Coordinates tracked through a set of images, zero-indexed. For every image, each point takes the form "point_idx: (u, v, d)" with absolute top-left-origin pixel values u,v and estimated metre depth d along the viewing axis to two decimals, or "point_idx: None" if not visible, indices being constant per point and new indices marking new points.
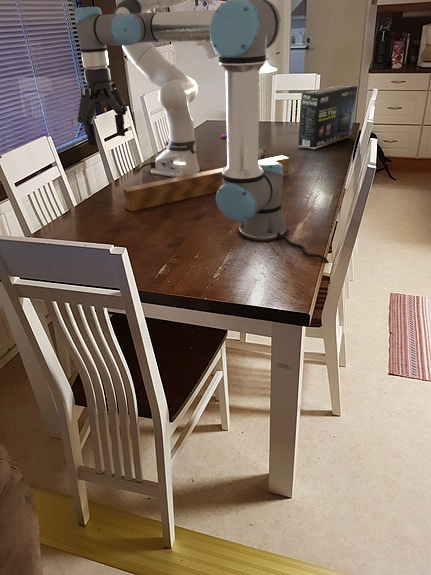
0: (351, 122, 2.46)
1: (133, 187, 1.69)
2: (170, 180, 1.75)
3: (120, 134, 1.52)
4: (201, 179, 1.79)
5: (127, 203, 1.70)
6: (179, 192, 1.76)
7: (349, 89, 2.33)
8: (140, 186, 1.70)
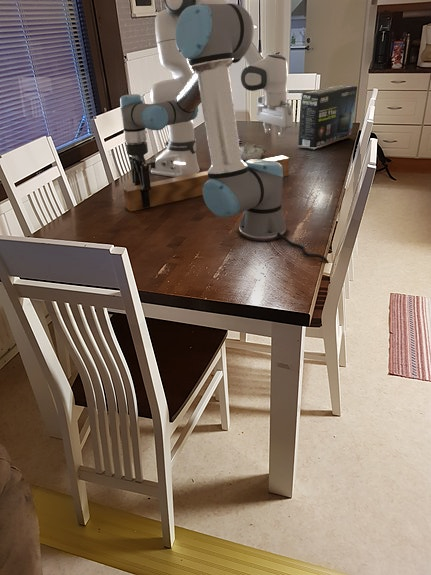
0: (351, 122, 2.46)
1: (133, 187, 1.69)
2: (170, 180, 1.75)
3: None
4: (201, 179, 1.79)
5: (127, 203, 1.70)
6: (179, 192, 1.76)
7: (349, 89, 2.33)
8: (140, 186, 1.70)
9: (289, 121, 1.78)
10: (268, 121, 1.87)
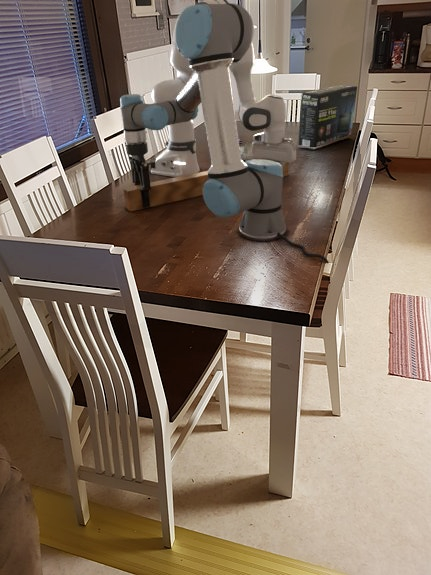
0: (351, 122, 2.46)
1: (133, 187, 1.69)
2: (170, 180, 1.75)
3: None
4: (201, 179, 1.79)
5: (127, 203, 1.70)
6: (179, 192, 1.76)
7: (349, 89, 2.33)
8: (140, 186, 1.70)
9: (294, 156, 1.88)
10: (267, 157, 1.94)
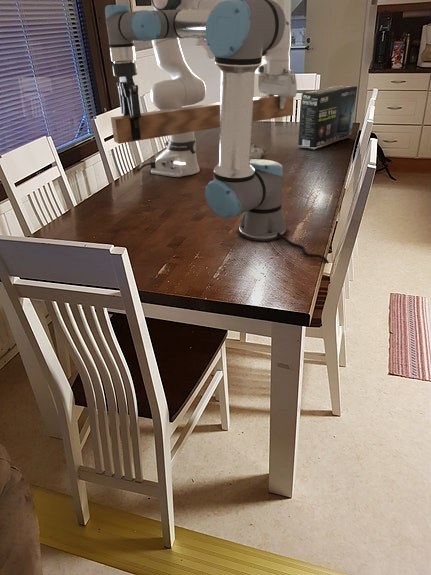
0: (351, 122, 2.46)
1: (121, 116, 1.52)
2: (163, 111, 1.58)
3: None
4: (198, 111, 1.62)
5: (115, 134, 1.53)
6: (173, 125, 1.59)
7: (349, 89, 2.33)
8: (129, 115, 1.53)
9: (293, 90, 1.68)
10: (270, 92, 1.77)
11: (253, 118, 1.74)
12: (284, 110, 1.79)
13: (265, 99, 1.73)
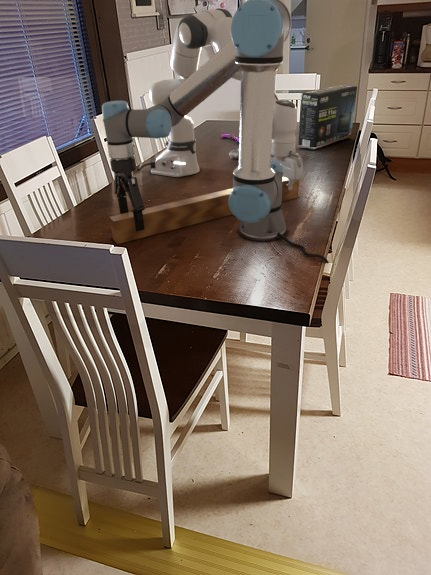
0: (351, 122, 2.46)
1: (120, 216, 1.45)
2: (164, 206, 1.51)
3: None
4: (200, 204, 1.55)
5: (114, 234, 1.46)
6: (174, 220, 1.53)
7: (349, 89, 2.33)
8: (129, 214, 1.46)
9: (299, 174, 1.61)
10: None
11: None
12: (289, 193, 1.73)
13: None
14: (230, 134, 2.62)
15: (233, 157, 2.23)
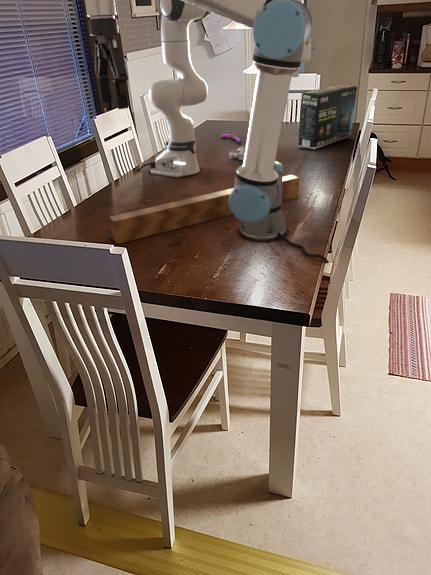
0: (351, 122, 2.46)
1: (120, 216, 1.45)
2: (164, 206, 1.51)
3: None
4: (200, 204, 1.55)
5: (114, 234, 1.46)
6: (174, 220, 1.53)
7: (349, 89, 2.33)
8: (129, 214, 1.46)
9: (306, 53, 1.41)
10: None
11: None
12: (289, 193, 1.73)
13: None
14: (230, 134, 2.62)
15: (233, 157, 2.23)
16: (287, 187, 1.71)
